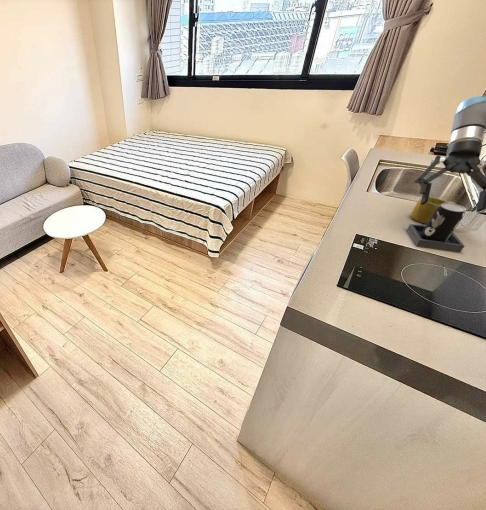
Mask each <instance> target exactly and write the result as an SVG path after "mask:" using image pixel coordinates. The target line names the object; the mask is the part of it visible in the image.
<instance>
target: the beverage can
mask: <svg viewBox="0 0 486 510" xmlns="http://www.w3.org/2000/svg"><path fill="white" fill-rule="evenodd" d="M466 211H467V208H466V207H464V206H463V205H460V204H457V203H455V204H452V203H443V204H441V206H439V207H438V208H437V209H436V210H435V212H434V214H433V215H432V217H431V218H430V220H429V222H428V223H427V225H426V224H425V225H424V226H425V228H424V230H423V231H422V233H421V236H422V238H423V239H425V240H432V241H439V242H446V241H447V240H448V238H449V237H450V235H451V234H452V232H454V231H455V230H456V228H457V227H458V226H459V224H460V222H461V221H462V220H463V218H464V217H465V215H466Z"/></svg>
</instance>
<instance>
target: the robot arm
mask: <svg viewBox="0 0 486 510" xmlns="http://www.w3.org/2000/svg"><path fill="white" fill-rule="evenodd" d="M451 126H452V127H451V131H450V136H449V140H448V147H447V148H446V154H445V157H441V155H436V156H435V157H434V158H433V159H431V162H430V164H429V165H428V166H427V168H425V169H424V170H423V171H422V172H421V174H420V175H419V176H418V177H417V178H415V180H414V181H413V182H414V183H415V184H419V187H420V188H419V194H420V195H421V197H422V199H421V205H424V204H425V203H427V202H428V198H429V197H430V193H431V189H432V181H435V179H437V178H438V177H440V176H442V175H444V174H445V173H447V172H450V174H456V173H458V174H460V175H461V174H462V175H463V174H466V175H467V176H468V177H470V178H471V179H472V180H473V181H474V182H475V183H476V185H478V187H480V188H481V190H480V192H479V195H478V200H477V205H476V210H475V212H482V211H484V210H486V160H481V159H480V156H481V154H482V148H483V143H484V140H485V139H484V138H485V134H486V96H482V95H477V96H472V97H469V98H467V99H465V100H463V101H461V102H460V103H459V104H458V105H457V108H456V111H455V114H454V117H453V121H452V125H451ZM441 163H442V164H443V166H444V167H443V168H442V169H439V171H436V172H435V173H433V174H431V175H430V176H428V177H427V178H426V179H425V177H426V176H427V175H428V174H429V173H430V172H431V171H432V170H433V169H435V167H436V166H437V165H440V164H441ZM479 166H480V167H479ZM481 169H482V171H481Z"/></svg>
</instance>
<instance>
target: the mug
mask: <svg viewBox="0 0 486 510" xmlns="http://www.w3.org/2000/svg"><path fill="white" fill-rule="evenodd" d="M421 199H422V196H421V197H420V198H419V200H417V202H416V204H415V206H414V207H413V210H412V211H411V213H410V219H411V220H413V221H416V222H418V223H421V224H422V225H423V224H424V225H425V226H426V225H427V223H428V222H429V220H430V218H431V217H432V215H433V214H434V212H435V210H436V209H437V208H438V207H439V206H441V204H443V203H452V204H456V203H455V202H453V201H446V200H444V199H441V198H438V197H433V196H429V198H428V202H427V203H425V204H424V205H421Z"/></svg>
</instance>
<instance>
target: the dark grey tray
mask: <svg viewBox="0 0 486 510" xmlns="http://www.w3.org/2000/svg"><path fill="white" fill-rule="evenodd" d="M425 226H426V225H423V224H414V223H410V224H409V225H408V226H407V228H406V232H407V234H408V235H409V237H410V238H411V240H412V242H413V244H414V245H415V247H419V248H424V249H431V250H439V251H446V252H452V253H458V254H459V253H461V252H462V251H463V249H464V248H465V247H466V246H465V244H464V243H463V241H461V240H460V238H459V237H458V236H457V234H456V233H455V232H454V231H453V232H452V234H451V235H450V237H449V238H448V240H447V241H446V242H439V241H432V240H425V239H423V238H422V236H421V233H422V231H423V230H424V228H425Z"/></svg>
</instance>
